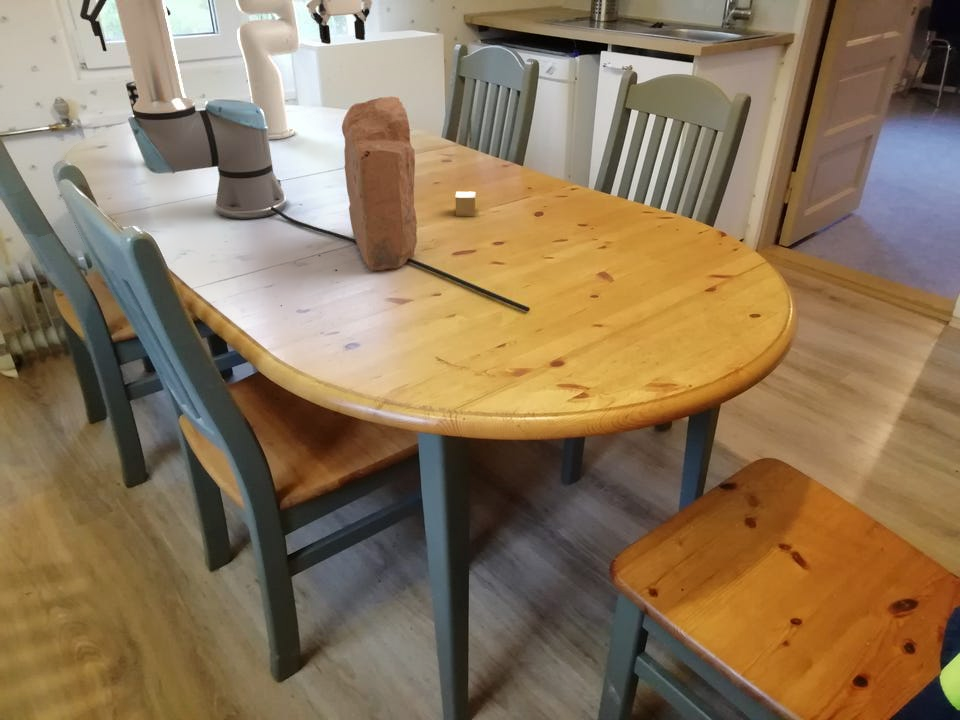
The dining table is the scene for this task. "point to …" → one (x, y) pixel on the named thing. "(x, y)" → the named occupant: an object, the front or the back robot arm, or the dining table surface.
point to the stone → (381, 181)
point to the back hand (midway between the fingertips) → (343, 41)
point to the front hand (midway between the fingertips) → (134, 48)
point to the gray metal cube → (465, 203)
